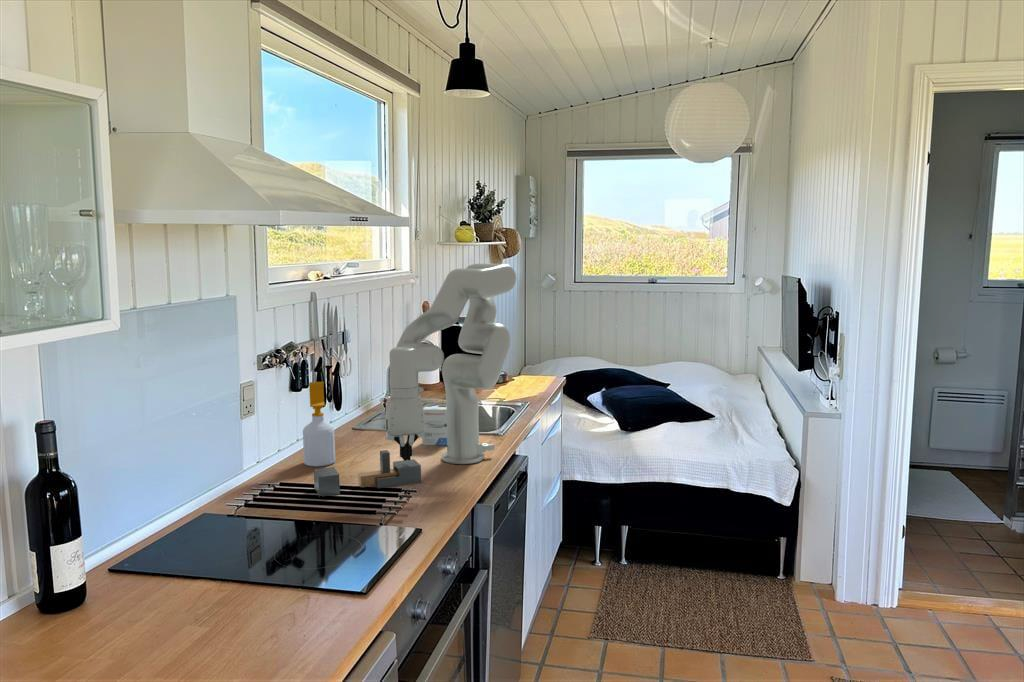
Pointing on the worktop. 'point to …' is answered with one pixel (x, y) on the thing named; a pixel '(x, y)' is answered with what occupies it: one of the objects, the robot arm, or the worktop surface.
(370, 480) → the sliding bolt with handle
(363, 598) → the worktop surface
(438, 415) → the ink box
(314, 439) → the soap bottle
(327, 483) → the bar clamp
